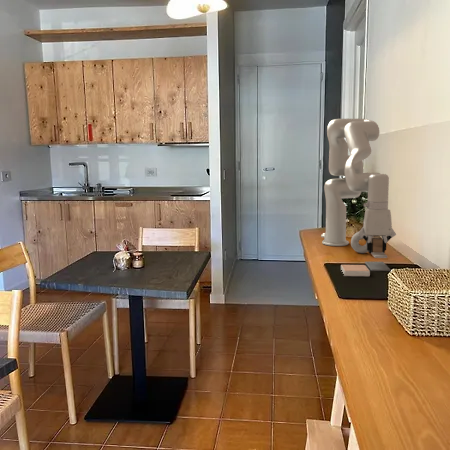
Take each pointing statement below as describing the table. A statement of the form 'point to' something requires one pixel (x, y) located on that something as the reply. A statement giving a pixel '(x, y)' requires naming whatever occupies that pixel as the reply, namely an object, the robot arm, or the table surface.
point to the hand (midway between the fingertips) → (376, 251)
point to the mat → (377, 266)
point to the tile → (355, 270)
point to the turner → (377, 247)
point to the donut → (356, 245)
